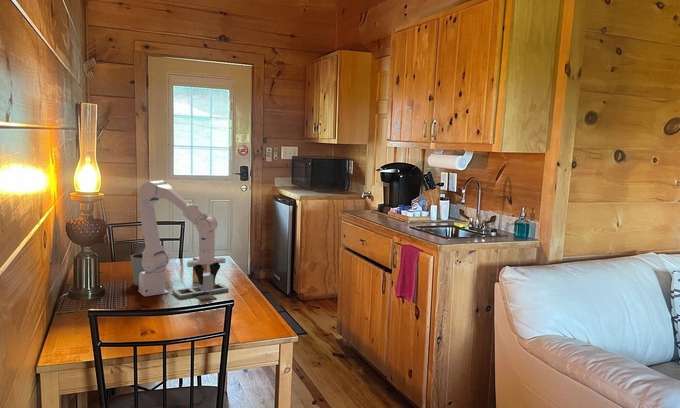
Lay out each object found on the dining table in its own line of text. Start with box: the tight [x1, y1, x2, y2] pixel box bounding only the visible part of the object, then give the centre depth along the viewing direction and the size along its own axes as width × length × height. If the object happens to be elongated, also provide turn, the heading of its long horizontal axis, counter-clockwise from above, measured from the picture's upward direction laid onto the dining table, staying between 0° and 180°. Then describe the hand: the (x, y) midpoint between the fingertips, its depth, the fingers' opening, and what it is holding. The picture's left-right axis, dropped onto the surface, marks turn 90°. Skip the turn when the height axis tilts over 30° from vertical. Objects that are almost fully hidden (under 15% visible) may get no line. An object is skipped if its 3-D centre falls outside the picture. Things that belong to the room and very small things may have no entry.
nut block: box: [198, 273, 214, 292], centre depth 193 cm, size 4×4×6 cm
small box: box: [192, 256, 216, 284], centre depth 215 cm, size 8×6×10 cm
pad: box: [195, 294, 218, 303], centre depth 193 cm, size 6×6×1 cm
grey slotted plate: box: [171, 282, 230, 300], centre depth 200 cm, size 20×8×1 cm, turn 127°
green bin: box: [130, 252, 145, 287], centre depth 209 cm, size 10×10×12 cm
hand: (206, 283), depth 192 cm, fingers closed on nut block, 4 cm apart
